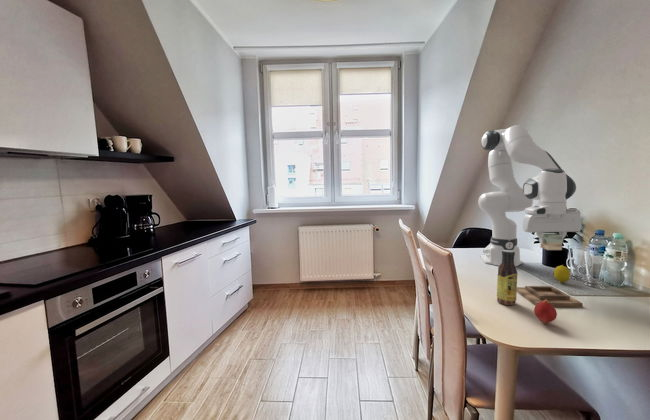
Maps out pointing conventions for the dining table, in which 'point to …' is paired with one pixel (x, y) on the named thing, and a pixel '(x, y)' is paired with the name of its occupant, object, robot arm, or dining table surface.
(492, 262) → the robot arm
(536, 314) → the red bumpy ovoid
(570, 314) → the dining table surface
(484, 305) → the dining table surface
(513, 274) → the sauce bottle
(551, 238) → the block
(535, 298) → the socket board
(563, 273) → the lemon
